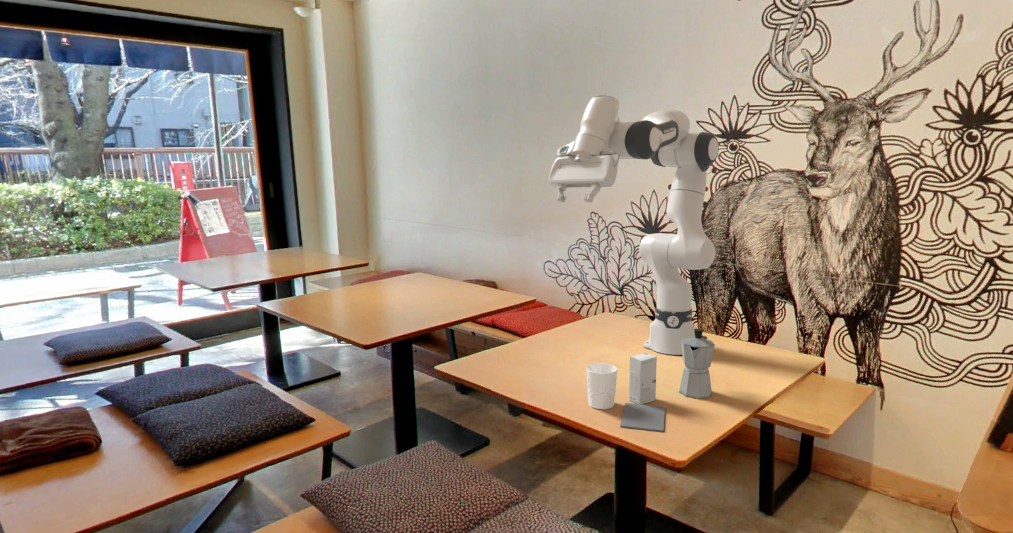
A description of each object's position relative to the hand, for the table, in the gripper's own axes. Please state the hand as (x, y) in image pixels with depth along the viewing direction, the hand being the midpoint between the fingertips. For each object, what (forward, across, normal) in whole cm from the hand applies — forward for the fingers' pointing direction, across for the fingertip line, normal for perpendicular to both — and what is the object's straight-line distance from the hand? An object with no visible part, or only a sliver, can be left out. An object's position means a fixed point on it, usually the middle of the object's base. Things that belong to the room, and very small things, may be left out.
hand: (573, 201), depth 150 cm
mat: (+46, -19, -27) cm, 57 cm away
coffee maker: (+35, -19, -49) cm, 63 cm away
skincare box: (+42, -13, -34) cm, 56 cm away
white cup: (+47, -7, -25) cm, 54 cm away
